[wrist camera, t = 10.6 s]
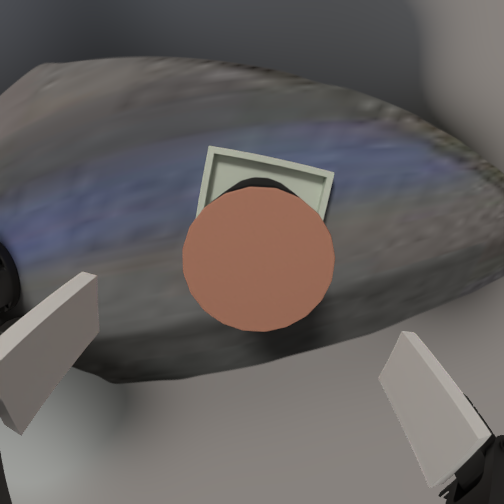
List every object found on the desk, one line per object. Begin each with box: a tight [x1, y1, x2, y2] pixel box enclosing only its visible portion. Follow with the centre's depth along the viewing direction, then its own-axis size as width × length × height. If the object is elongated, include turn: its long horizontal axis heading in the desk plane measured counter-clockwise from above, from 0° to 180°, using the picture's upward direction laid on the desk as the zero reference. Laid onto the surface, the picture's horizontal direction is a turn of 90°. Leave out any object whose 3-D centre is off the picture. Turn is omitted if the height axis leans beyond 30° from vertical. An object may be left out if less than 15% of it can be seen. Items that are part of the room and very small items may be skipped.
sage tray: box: [196, 146, 334, 220], centre depth 36 cm, size 16×16×2 cm
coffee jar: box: [183, 177, 335, 332], centre depth 28 cm, size 11×11×18 cm
